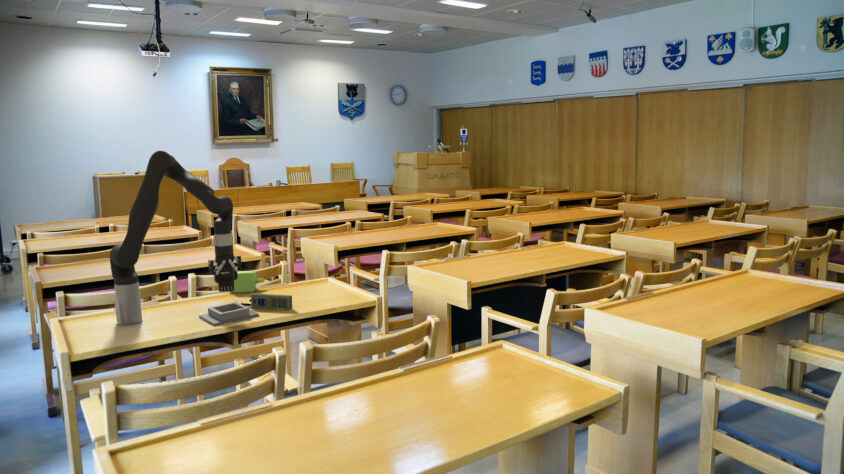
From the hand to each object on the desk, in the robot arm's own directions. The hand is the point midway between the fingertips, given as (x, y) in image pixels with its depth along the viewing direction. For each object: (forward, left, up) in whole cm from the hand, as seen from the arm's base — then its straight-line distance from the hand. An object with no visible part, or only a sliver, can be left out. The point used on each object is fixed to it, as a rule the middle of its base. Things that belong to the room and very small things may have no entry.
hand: (226, 281), depth 268 cm
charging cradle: (0, 0, -16) cm, 16 cm away
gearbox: (+26, +37, -16) cm, 48 cm away
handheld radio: (+18, +1, -16) cm, 24 cm away
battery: (0, 0, -5) cm, 5 cm away
